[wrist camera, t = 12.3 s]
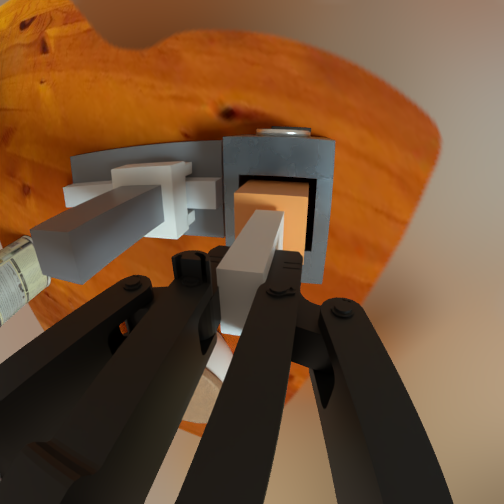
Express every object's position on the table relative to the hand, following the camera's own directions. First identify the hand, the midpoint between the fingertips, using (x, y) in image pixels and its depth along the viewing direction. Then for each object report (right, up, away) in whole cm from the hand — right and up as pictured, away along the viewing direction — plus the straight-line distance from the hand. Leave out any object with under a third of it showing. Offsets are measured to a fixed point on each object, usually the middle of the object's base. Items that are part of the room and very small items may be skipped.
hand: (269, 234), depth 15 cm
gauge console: (+2, +5, +9) cm, 11 cm away
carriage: (-9, +5, +10) cm, 14 cm away
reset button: (+1, +2, +4) cm, 5 cm away
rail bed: (-13, +6, +12) cm, 18 cm away
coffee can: (-39, -3, +22) cm, 45 cm away
